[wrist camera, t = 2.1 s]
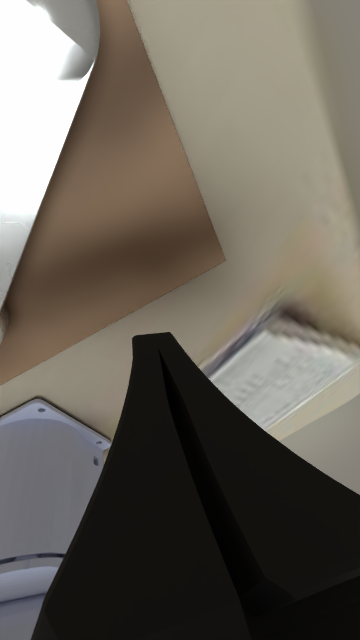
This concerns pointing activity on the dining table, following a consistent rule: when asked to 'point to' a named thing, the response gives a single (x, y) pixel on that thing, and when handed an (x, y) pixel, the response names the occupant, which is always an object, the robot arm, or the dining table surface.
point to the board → (108, 211)
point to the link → (37, 110)
